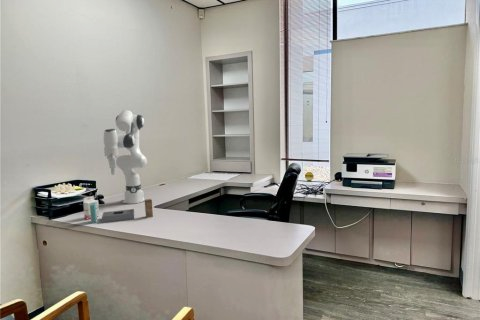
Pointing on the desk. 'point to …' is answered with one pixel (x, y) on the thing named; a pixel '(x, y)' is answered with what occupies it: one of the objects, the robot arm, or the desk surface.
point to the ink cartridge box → (87, 206)
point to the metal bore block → (118, 215)
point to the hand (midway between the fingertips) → (112, 173)
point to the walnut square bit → (148, 208)
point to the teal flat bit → (93, 212)
